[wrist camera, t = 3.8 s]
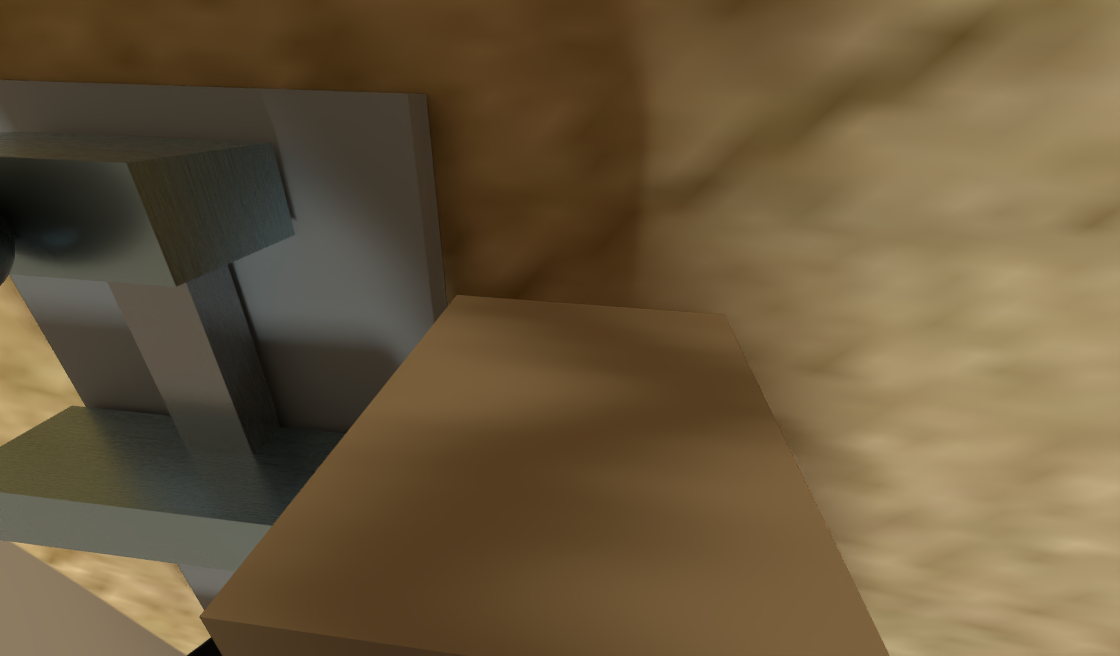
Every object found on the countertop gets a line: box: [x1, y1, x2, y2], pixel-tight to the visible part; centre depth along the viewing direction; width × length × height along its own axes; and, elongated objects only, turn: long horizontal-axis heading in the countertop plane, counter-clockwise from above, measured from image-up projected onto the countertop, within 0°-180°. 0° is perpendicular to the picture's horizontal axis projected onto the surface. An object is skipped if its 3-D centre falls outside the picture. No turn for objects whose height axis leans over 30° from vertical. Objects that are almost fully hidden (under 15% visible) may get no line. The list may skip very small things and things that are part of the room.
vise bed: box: [0, 80, 447, 610], centre depth 14 cm, size 12×24×4 cm, turn 178°
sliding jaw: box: [0, 131, 345, 571], centre depth 10 cm, size 12×10×6 cm
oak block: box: [200, 295, 889, 656], centre depth 7 cm, size 5×7×6 cm
